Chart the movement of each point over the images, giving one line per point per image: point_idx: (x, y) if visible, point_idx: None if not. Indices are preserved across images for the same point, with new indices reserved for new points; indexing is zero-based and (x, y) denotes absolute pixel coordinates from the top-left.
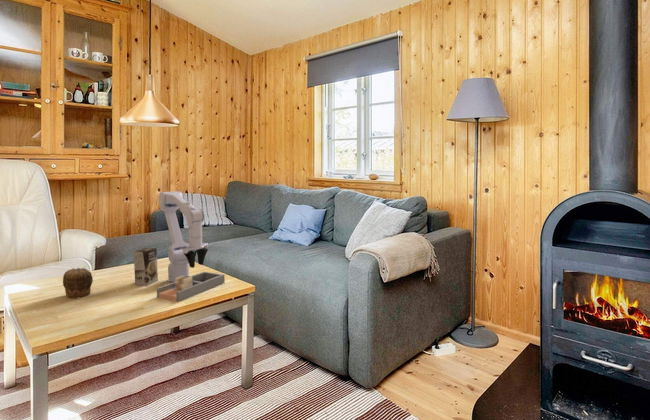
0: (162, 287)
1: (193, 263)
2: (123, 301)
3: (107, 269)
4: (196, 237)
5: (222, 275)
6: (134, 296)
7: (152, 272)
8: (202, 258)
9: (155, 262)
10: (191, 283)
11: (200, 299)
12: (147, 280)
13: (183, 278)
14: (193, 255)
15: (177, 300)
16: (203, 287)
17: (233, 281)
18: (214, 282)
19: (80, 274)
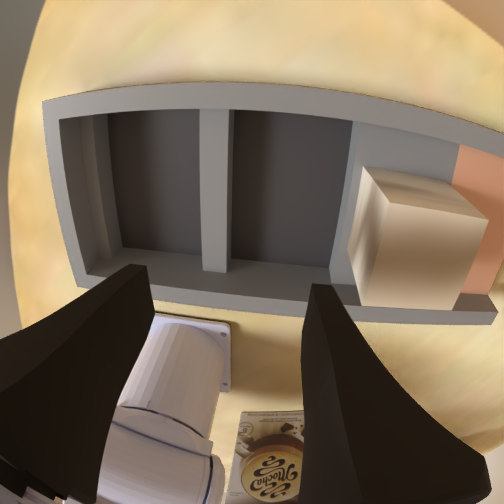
0: (478, 310)
1: (353, 322)
2: (500, 357)
3: (225, 492)
4: None
5: (60, 97)
6: (453, 367)
7: (276, 452)
8: (97, 323)
9: (243, 487)
10: (385, 181)
11: (459, 27)
12: None
13: (454, 249)
14: (449, 452)
15: None
16: (318, 88)
17: (41, 69)
18: (169, 83)
19: None
